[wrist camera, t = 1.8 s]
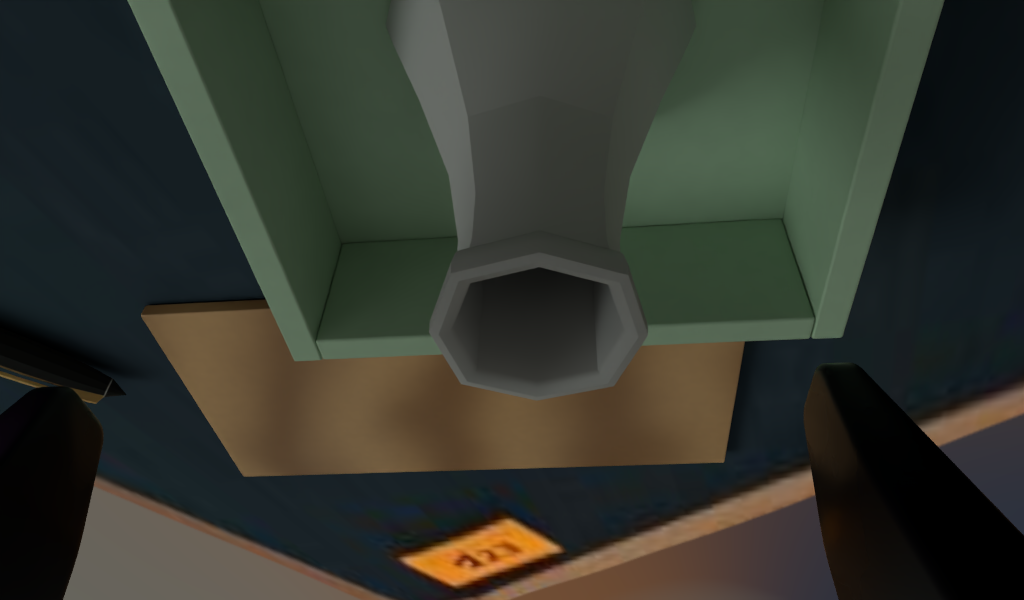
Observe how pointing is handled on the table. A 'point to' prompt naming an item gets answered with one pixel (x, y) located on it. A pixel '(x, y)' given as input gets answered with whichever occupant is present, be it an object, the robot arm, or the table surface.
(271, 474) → the cork mat
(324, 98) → the bin
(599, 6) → the flask
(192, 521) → the table surface
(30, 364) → the fountain pen
